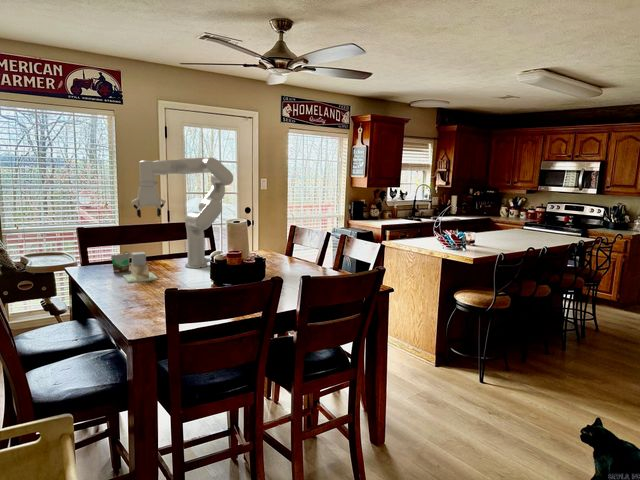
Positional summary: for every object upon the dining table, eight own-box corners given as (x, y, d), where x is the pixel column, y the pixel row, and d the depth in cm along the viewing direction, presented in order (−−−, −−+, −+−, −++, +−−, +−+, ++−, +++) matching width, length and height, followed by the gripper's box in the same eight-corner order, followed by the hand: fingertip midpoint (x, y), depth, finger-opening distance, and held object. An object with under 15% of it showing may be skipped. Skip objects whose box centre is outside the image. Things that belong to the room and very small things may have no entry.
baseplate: (151, 273, 236) (150, 271, 236) (157, 279, 224) (157, 277, 224) (122, 276, 228) (122, 274, 228) (128, 282, 217) (128, 280, 216)
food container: (122, 274, 234) (121, 255, 232) (111, 273, 235) (110, 255, 233) (136, 269, 246) (135, 251, 244) (126, 268, 247) (125, 251, 245)
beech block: (143, 273, 233) (143, 262, 232) (149, 278, 223) (148, 266, 222) (131, 274, 229) (130, 263, 228) (136, 279, 219) (135, 267, 219)
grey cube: (144, 263, 229) (143, 251, 228) (146, 265, 224) (145, 253, 223) (131, 264, 226) (131, 252, 225) (133, 266, 221) (132, 254, 220)
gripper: (162, 184, 239) (164, 215, 242) (128, 184, 230) (130, 216, 232) (166, 184, 233) (167, 216, 236) (131, 184, 224) (133, 218, 226)
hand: (149, 216), depth 234 cm, fingers open, 9 cm apart
